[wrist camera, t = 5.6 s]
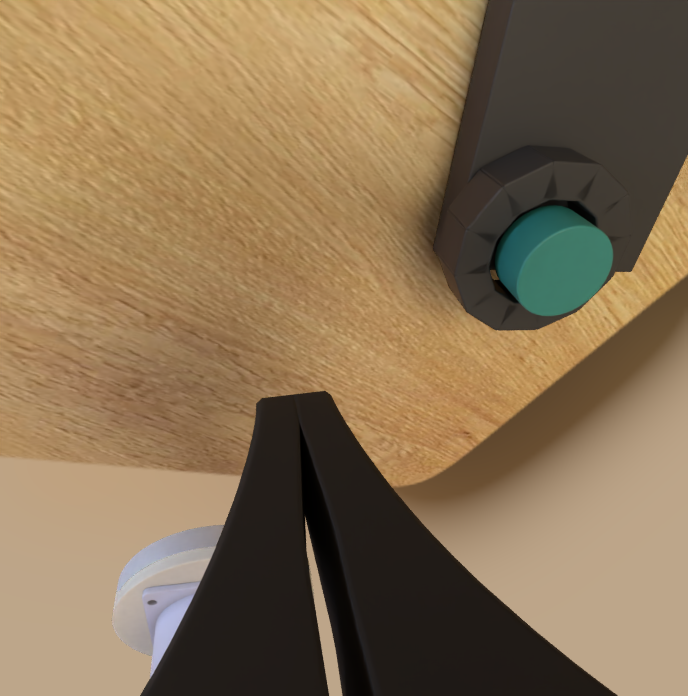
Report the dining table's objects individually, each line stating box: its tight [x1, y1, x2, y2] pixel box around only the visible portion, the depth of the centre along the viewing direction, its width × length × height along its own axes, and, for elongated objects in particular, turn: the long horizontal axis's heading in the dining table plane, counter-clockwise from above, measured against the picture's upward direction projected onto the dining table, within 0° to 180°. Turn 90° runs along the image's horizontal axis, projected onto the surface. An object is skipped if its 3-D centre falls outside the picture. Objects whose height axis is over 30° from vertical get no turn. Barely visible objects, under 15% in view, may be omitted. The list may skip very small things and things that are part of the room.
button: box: [495, 205, 613, 316], centre depth 17 cm, size 3×3×2 cm
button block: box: [433, 0, 688, 330], centre depth 17 cm, size 10×8×4 cm
